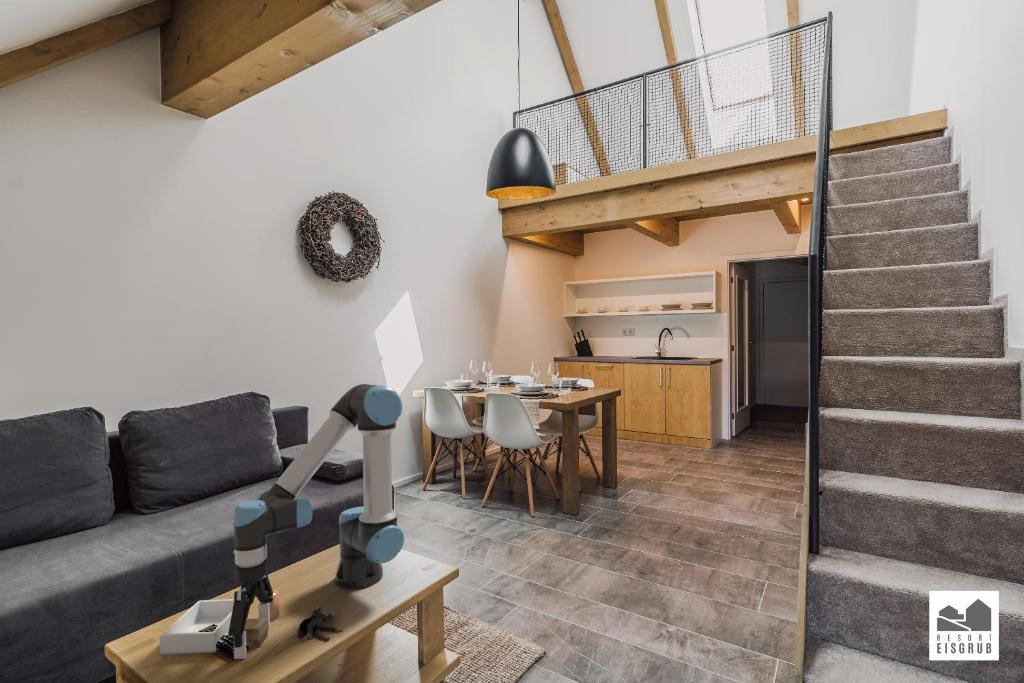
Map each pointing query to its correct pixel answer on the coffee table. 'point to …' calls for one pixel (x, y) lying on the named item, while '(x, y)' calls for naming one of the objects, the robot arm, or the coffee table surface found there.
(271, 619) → the round-ended peach cylinder
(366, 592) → the coffee table surface
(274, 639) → the coffee table surface
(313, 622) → the dark brown branched piece
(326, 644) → the coffee table surface
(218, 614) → the tote
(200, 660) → the coffee table surface
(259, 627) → the walnut cube
